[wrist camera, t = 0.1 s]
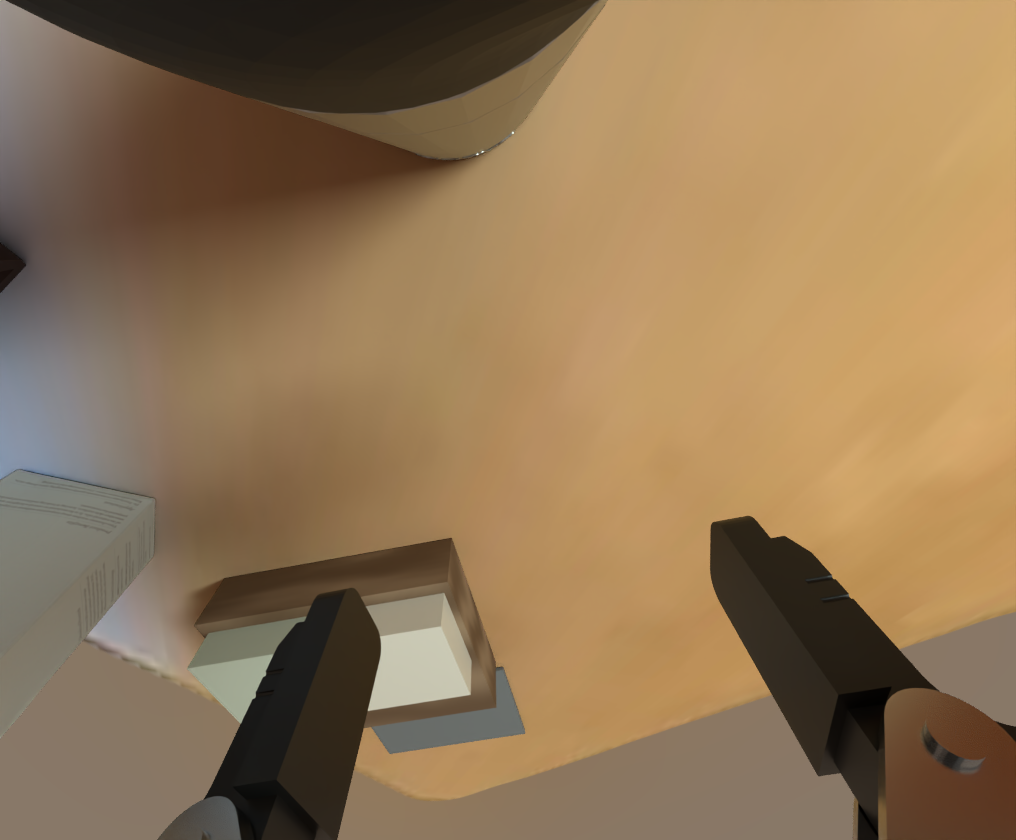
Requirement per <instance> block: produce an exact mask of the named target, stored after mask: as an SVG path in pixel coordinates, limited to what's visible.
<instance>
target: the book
mask: <svg viewBox="0 0 1016 840" xmlns="http://www.w3.org/2000/svg"><path fill="white" fill-rule="evenodd" d="M25 266H26V264H25V263H24V262H23V261H22V260H21V259H20V258H19V257H17V256H16V255H15V254H14V253H13V252H11V251H10V250H9V249H8V248H6V247H5V246H4V245H3V244H2V243H0V293H1V292H2V291H3V290H4V289H5V287H6V286H7V285H8V284H9V283H10V282H11V281H12V280H13V279H14V278H15V277H16V276H17V275H18V274H19V272H20V271H21V270H22V269H23V268H24V267H25Z"/></svg>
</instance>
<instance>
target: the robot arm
mask: <svg viewBox="0 0 1016 840" xmlns="http://www.w3.org/2000/svg"><path fill="white" fill-rule="evenodd" d="M6 1H8V2H10V3H12V4H14V5H16V6H18V7H20V8H22V9H24V10H26V11H28V12H30V13H32V14H34V15H36V16H38V17H40V18H42V19H44V20H46V21H48V22H51V23H53V24H55V25H57V26H59V27H61V28H63V29H65V30H67V31H69V32H71V33H73V34H76V35H78V36H80V37H82V38H85V39H87V40H90V41H92V42H95V43H97V44H100V45H102V46H105V47H107V48H110V49H112V50H115V51H117V52H120V53H122V54H125V55H127V56H130V57H132V58H135V59H137V60H139V61H142V62H144V63H147V64H150V65H153V66H155V67H158V68H161V69H164V70H166V71H169V72H172V73H175V74H178V75H181V76H184V77H187V78H190V79H193V80H196V81H199V82H202V83H205V84H208V85H211V86H214V87H217V88H220V89H223V90H226V91H229V92H232V93H235V94H238V95H241V96H244V97H247V98H250V99H253V100H256V101H259V102H262V103H265V104H268V105H271V106H274V107H277V108H280V109H283V110H286V111H289V112H292V113H295V114H298V115H301V116H304V117H307V118H311V119H314V120H318V121H321V122H324V123H327V124H330V125H333V126H336V127H339V128H342V129H345V130H348V131H351V132H354V133H357V134H360V135H363V136H366V137H369V138H372V139H375V140H378V141H381V142H384V143H387V144H390V145H393V146H396V147H399V148H402V149H405V150H408V151H411V152H414V153H416V155H419V156H422V157H426V158H430V159H437V160H440V159H441V160H459V159H466V158H471V157H474V156H477V155H480V154H482V153H485V152H488V151H490V150H491V149H493V148H494V147H496V146H497V145H499V144H501V143H502V142H503V141H505V140H506V139H507V138H509V137H510V136H511V135H512V134H513V133H514V132H515V130H516V129H517V128H518V127H519V126H520V125H521V124H522V123H523V122H524V120H525V119H526V117H527V116H528V114H529V113H530V112H531V111H532V109H533V108H534V106H535V105H536V104H537V102H538V101H539V99H540V98H541V96H542V95H543V94H544V92H545V91H546V89H547V88H548V86H549V85H550V84H551V82H552V81H553V79H554V78H555V76H556V75H557V73H558V72H559V71H560V69H561V68H562V66H563V65H564V63H565V62H566V61H567V59H568V58H569V56H570V55H571V53H572V52H573V51H574V49H575V48H576V46H577V45H578V43H579V42H580V40H581V39H582V38H583V36H584V35H585V33H586V32H587V30H588V29H589V28H590V26H591V25H592V23H593V22H594V20H595V19H596V18H597V16H598V15H599V13H600V12H601V10H602V9H603V7H604V6H605V4H606V2H607V1H608V0H6ZM710 573H711V579H712V584H713V587H714V590H715V593H716V595H717V597H718V600H719V601H720V603H721V605H722V607H723V609H724V610H725V612H726V614H727V616H728V617H729V619H730V621H731V623H732V625H733V626H734V628H735V630H736V632H737V633H738V635H739V637H740V639H741V640H742V642H743V644H744V646H745V648H746V649H747V651H748V653H749V655H750V656H751V658H752V660H753V662H754V664H755V665H756V667H757V669H758V671H759V672H760V674H761V676H762V678H763V679H764V681H765V683H766V685H767V687H768V688H769V690H770V692H771V694H772V695H773V697H774V699H775V701H776V702H777V704H778V706H779V708H780V709H781V711H782V713H783V715H784V716H785V718H786V720H787V722H788V724H789V725H790V727H791V729H792V731H793V733H794V734H795V736H796V738H797V740H798V741H799V743H800V745H801V747H802V748H803V750H804V752H805V754H806V756H807V757H808V759H809V761H810V763H811V764H812V766H813V768H814V770H815V771H816V773H817V775H818V776H823V775H830V774H837V773H841V774H842V776H843V778H844V779H845V781H846V782H847V784H848V786H849V788H850V789H851V791H852V793H853V794H854V796H855V797H854V808H853V840H1016V727H1014V726H1010V725H1006V724H1002V723H999V722H996V721H994V720H993V719H991V718H990V717H989V716H987V715H986V714H985V713H983V712H982V711H980V710H979V709H977V708H975V707H974V706H972V705H970V704H969V703H966V702H964V701H963V700H961V699H959V698H956V697H954V696H951V695H949V694H946V693H942V692H940V691H939V690H937V689H936V688H935V687H934V686H933V685H932V684H930V683H929V682H928V681H927V680H926V679H925V678H924V677H923V676H922V675H921V674H920V672H919V671H918V670H917V669H916V668H915V667H914V666H913V665H912V663H911V662H910V661H909V660H908V659H907V658H906V657H905V656H904V655H903V654H902V652H901V651H900V650H899V649H898V648H897V647H896V646H895V645H894V644H893V642H892V641H891V640H890V639H889V638H888V637H887V636H886V635H885V634H884V632H883V631H882V630H881V629H880V628H879V627H878V626H877V625H876V624H875V622H874V621H873V620H872V619H871V618H870V617H869V616H868V615H867V614H866V612H865V611H864V610H863V609H862V608H861V607H860V606H859V605H858V604H857V602H856V601H855V600H854V599H851V598H850V597H849V594H848V592H847V591H846V590H845V589H844V588H843V587H842V586H841V585H840V584H839V582H838V581H837V580H836V579H833V578H832V575H831V574H830V572H829V571H828V570H827V569H826V568H825V567H824V566H823V565H822V564H821V562H820V561H819V560H818V559H817V558H816V557H815V556H814V555H813V554H812V553H811V552H810V551H808V550H807V549H805V548H803V547H802V546H800V545H798V544H797V543H795V542H794V541H792V540H790V539H789V538H787V537H786V536H781V537H776V538H770V537H769V536H768V534H767V533H766V532H765V531H764V530H763V528H762V527H761V526H760V525H759V523H758V522H757V521H756V520H755V519H754V518H753V517H751V516H744V517H739V518H733V519H728V520H722V521H717V522H713V523H712V524H711V544H710ZM380 656H381V639H380V634H379V631H378V628H377V626H376V624H375V623H374V621H373V619H372V617H371V615H370V613H369V612H368V610H367V608H366V606H365V604H364V602H363V600H362V599H361V597H360V595H359V593H358V591H357V590H356V589H354V588H348V589H342V590H337V591H331V592H326V593H321V594H319V595H317V596H316V598H315V599H314V601H313V603H312V605H311V607H310V610H309V612H308V614H307V617H306V619H305V621H304V622H298V623H296V624H295V625H294V627H293V628H292V629H291V630H290V631H289V633H288V634H287V635H286V636H285V638H284V639H283V640H282V641H281V642H280V644H279V645H278V646H277V648H276V650H275V653H274V655H273V657H272V659H271V661H270V663H269V665H268V667H267V669H266V676H264V677H263V678H262V680H261V682H260V684H259V686H258V689H257V691H256V697H255V698H254V699H252V701H251V703H250V705H249V708H248V710H247V712H246V714H245V716H244V718H243V720H242V722H241V724H240V727H239V729H238V731H237V733H236V735H235V737H234V740H233V742H232V744H231V746H230V748H229V750H228V752H227V754H226V756H225V758H224V761H223V763H222V765H221V767H220V769H219V771H218V773H217V775H216V777H215V780H214V782H213V784H212V786H211V788H210V789H209V791H208V793H207V795H206V797H205V798H204V800H201V801H199V802H198V803H196V804H194V805H192V806H191V807H190V808H188V809H187V810H185V811H184V812H183V813H182V814H180V815H179V816H178V817H177V818H176V819H175V820H174V821H173V822H172V823H171V824H170V825H169V826H168V827H167V828H166V829H165V831H164V832H163V833H162V834H161V836H160V837H159V838H158V839H157V840H337V838H338V833H339V829H340V825H341V821H342V817H343V812H344V808H345V804H346V800H347V796H348V791H349V787H350V783H351V779H352V775H353V770H354V766H355V762H356V758H357V754H358V749H359V745H360V741H361V737H362V733H363V728H364V724H365V720H366V716H367V712H368V707H369V703H370V699H371V695H372V691H373V686H374V682H375V678H376V674H377V670H378V665H379V661H380Z"/></svg>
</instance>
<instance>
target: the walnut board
mask: <svg viewBox="0 0 1016 840" xmlns="http://www.w3.org/2000/svg"><path fill="white" fill-rule="evenodd" d="M348 588H354V589H356V590H357V591H358V593H359V595H360V597H361V599H362V600H363V602H364V604H365V606H371V605H377V604H382V603H388V602H394V601H400V600H406V599H412V598H418V597H423V596H429V595H435V594H441V593H444V594H445V596H446V599H447V601H448V604H449V606H450V609H451V611H452V614H453V616H454V619H455V621H456V624H457V626H458V628H459V631H460V633H461V636H462V638H463V641H464V643H465V646H466V648H467V651H468V653H469V656H470V658H471V661H472V664H471V695H467V696H460V697H454V698H447V699H441V700H435V701H428V702H422V703H416V704H409V705H403V706H396V707H390V708H384V709H377V710H371V711H368V712H367V716H366V720H365V724H364V728H368V727H374V726H381V725H387V724H394V723H400V722H407V721H413V720H420V719H426V718H433V717H439V716H446V715H452V714H458V713H465V712H471V711H478V710H484V709H491V708H497V707H496V661H495V658H494V656H493V653H492V650H491V647H490V644H489V642H488V639H487V636H486V633H485V630H484V628H483V625H482V622H481V619H480V616H479V614H478V611H477V608H476V605H475V602H474V600H473V597H472V594H471V591H470V588H469V585H468V583H467V580H466V577H465V574H464V571H463V569H462V566H461V563H460V560H459V557H458V555H457V552H456V549H455V546H454V543H453V541H452V538H450V539H444V540H439V541H433V542H427V543H422V544H416V545H410V546H405V547H399V548H394V549H388V550H382V551H377V552H371V553H366V554H360V555H354V556H349V557H343V558H337V559H332V560H326V561H321V562H315V563H309V564H304V565H298V566H292V567H287V568H281V569H276V570H270V571H264V572H259V573H253V574H247V575H242V576H236V577H231V578H225V579H224V580H223V582H222V583H221V585H220V586H219V588H218V589H217V591H216V592H215V594H214V595H213V597H212V598H211V600H210V602H209V603H208V605H207V606H206V608H205V609H204V611H203V612H202V614H201V615H200V617H199V619H198V620H197V622H196V623H195V625H194V626H195V627H196V628H197V630H198V631H199V632H200V633H201V634H202V635H203V636H204V637H205V638H206V636H207V635H208V633H213V632H218V631H224V630H230V629H236V628H242V627H248V626H254V625H259V624H265V623H271V622H277V621H283V620H289V619H295V618H300V617H306V616H307V614H308V612H309V610H310V607H311V605H312V603H313V601H314V599H315V598H316V596H317V595H319V594H321V593H326V592H331V591H337V590H342V589H348Z"/></svg>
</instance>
